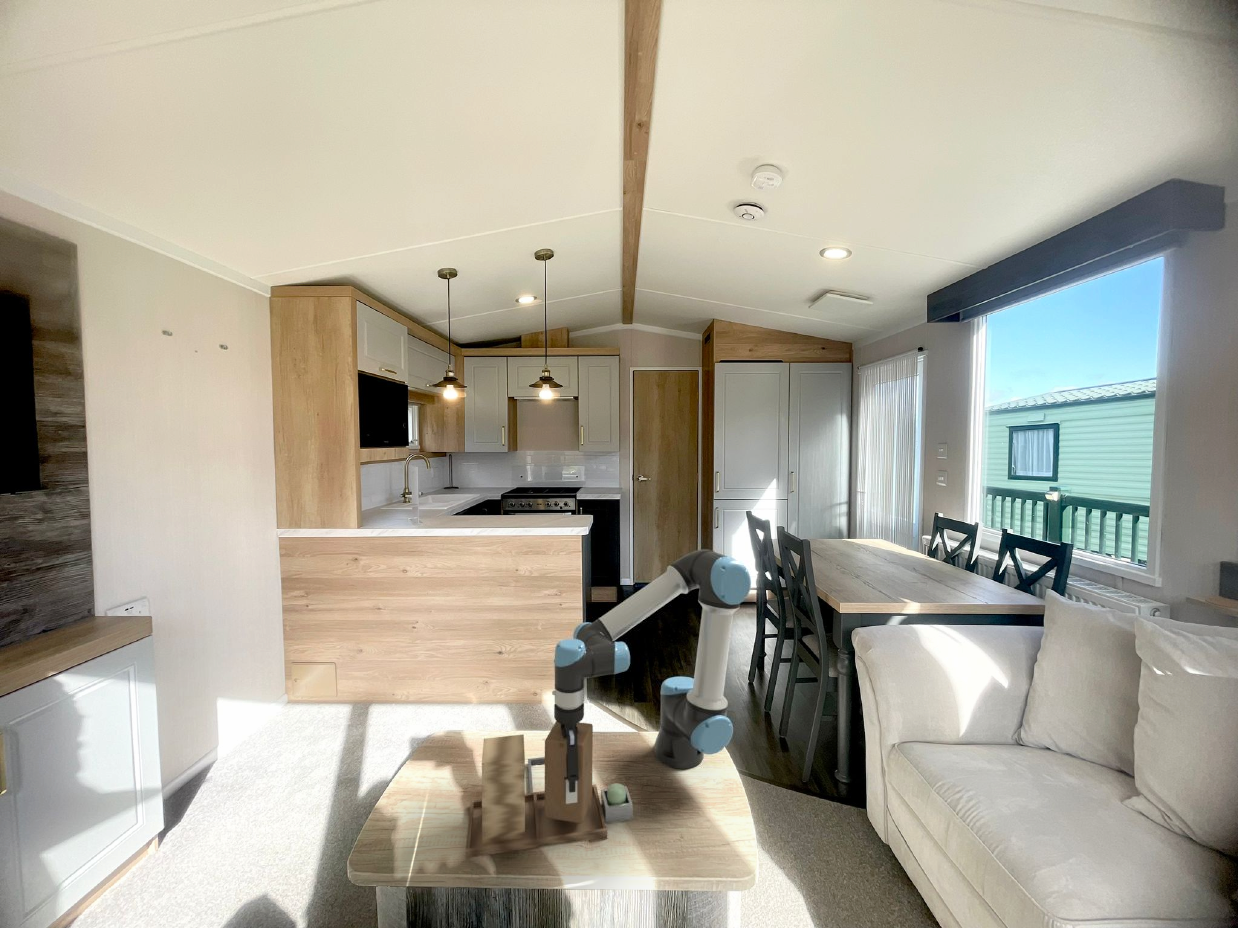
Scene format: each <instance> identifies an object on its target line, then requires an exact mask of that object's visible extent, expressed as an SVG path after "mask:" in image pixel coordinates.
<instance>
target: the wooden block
mask: <svg viewBox="0 0 1238 928" xmlns="http://www.w3.org/2000/svg"><path fill="white" fill-rule="evenodd" d="M576 727H577V728H578V733H577V736H578V738H577V751H578V776H579V780H578V781H577V802H576V803H569V804H566V780H564V777H566V776H567V767H566V754H567V740H566V736H565V739H563V736H562V729H561V725H560V723H558V722H557V721H556V720H555V723H554V724H553V725H552V728H551V729H550V731H549V733H548V735H547V737H546V738H545V739H544V757H545V763H544V791H545V818H550V819H556V820H563V821H569V822H576V823H583V821H584V818H585V815H586V813H587V810H588V807H589V804H590V801H591V798H592V785H593V750H594V749H593V744H594V743H593V741H594V739H593V738H594V737H593V736H594V735H593V733H594V729H593V728H594V726H593V724H592V723H588V722H581V721H580V722H578V723H577V724H576Z"/></svg>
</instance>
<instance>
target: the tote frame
mask: <svg viewBox="0 0 1238 928" xmlns="http://www.w3.org/2000/svg"><path fill="white" fill-rule="evenodd" d="M542 764H544V765H545V756H541V757H535V758H534V757H532V758H527V769H528V784H529V785H528V787H529V793H534V791H533V789H534V788H533V787H534V786H533V777H532V776H533V774H532V773H533V772H532V765H533V766H535V765H542ZM542 791H543V790H541V791H540V792H542Z"/></svg>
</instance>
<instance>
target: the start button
mask: <svg viewBox="0 0 1238 928" xmlns="http://www.w3.org/2000/svg"><path fill="white" fill-rule="evenodd" d="M606 789H607V804H608V806H611V805H618V804H625V803H626V788H625V786H624V785H623V784H621V783H617V782H615V783H612V784H610V785H608V787H607V788H606Z"/></svg>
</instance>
